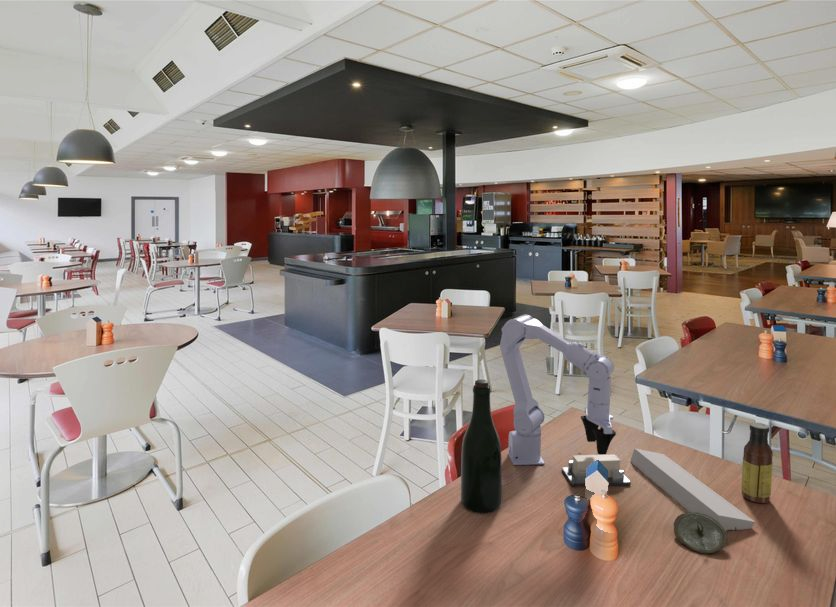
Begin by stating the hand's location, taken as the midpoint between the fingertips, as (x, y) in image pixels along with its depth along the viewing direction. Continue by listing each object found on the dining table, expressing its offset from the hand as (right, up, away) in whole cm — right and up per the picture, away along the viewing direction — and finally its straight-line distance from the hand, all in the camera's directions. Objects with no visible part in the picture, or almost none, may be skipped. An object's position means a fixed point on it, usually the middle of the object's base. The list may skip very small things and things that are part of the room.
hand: (596, 447), depth 135 cm
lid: (+14, -14, -26) cm, 32 cm away
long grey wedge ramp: (+21, -11, -6) cm, 25 cm away
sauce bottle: (+37, -10, -10) cm, 40 cm away
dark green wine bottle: (-34, -12, -10) cm, 37 cm away
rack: (0, -9, +1) cm, 9 cm away
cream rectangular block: (0, -8, +1) cm, 8 cm away
